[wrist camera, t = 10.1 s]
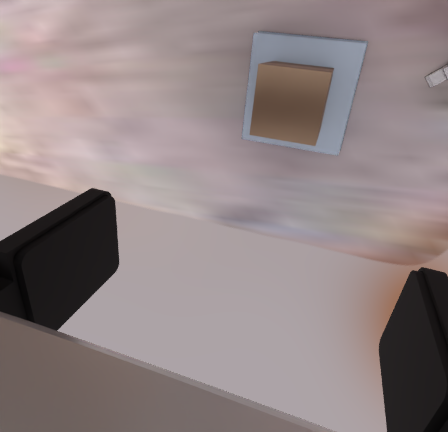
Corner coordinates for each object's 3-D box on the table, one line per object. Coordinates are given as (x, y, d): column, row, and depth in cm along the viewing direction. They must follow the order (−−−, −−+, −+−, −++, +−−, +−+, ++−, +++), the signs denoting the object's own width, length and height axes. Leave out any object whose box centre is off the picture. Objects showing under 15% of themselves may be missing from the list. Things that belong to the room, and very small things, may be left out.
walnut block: (273, 60, 29) (258, 64, 24) (334, 68, 28) (331, 72, 23) (265, 120, 31) (249, 134, 26) (320, 129, 30) (315, 146, 25)
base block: (259, 31, 31) (251, 29, 28) (367, 41, 29) (370, 40, 26) (247, 133, 35) (239, 140, 33) (340, 149, 33) (339, 158, 31)
